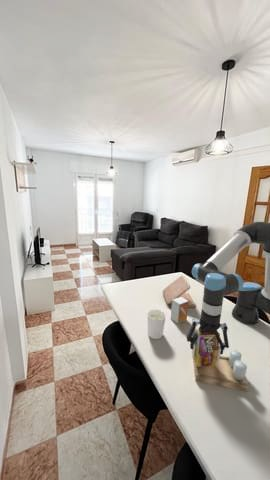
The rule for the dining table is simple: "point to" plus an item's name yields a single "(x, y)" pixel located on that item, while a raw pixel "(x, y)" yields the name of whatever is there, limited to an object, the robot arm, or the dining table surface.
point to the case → (178, 291)
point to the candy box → (206, 349)
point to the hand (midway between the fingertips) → (205, 357)
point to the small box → (179, 309)
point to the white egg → (234, 357)
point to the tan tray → (219, 375)
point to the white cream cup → (156, 323)
